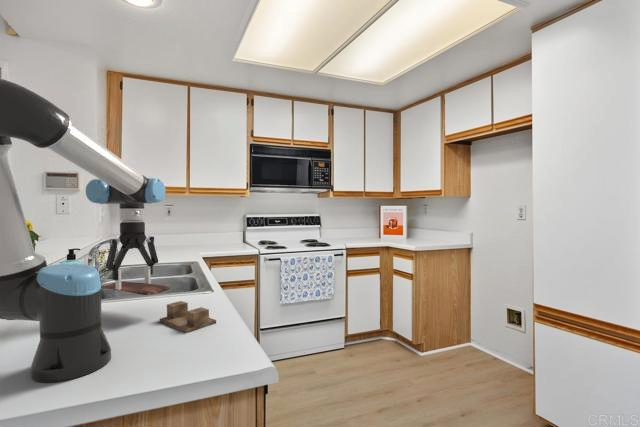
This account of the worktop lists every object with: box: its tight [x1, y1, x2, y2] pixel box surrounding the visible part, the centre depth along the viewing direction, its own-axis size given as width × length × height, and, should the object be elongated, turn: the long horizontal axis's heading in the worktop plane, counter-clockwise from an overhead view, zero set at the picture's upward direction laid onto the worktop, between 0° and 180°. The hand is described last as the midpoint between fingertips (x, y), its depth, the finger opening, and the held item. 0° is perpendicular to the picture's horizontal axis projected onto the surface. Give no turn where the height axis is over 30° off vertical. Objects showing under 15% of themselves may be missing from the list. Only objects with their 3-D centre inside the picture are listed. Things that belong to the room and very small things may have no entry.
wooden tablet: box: [101, 280, 171, 296], centre depth 116 cm, size 26×2×10 cm
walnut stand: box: [159, 300, 217, 334], centre depth 108 cm, size 10×16×5 cm, turn 52°
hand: (133, 286), depth 116 cm, fingers closed on wooden tablet, 9 cm apart
